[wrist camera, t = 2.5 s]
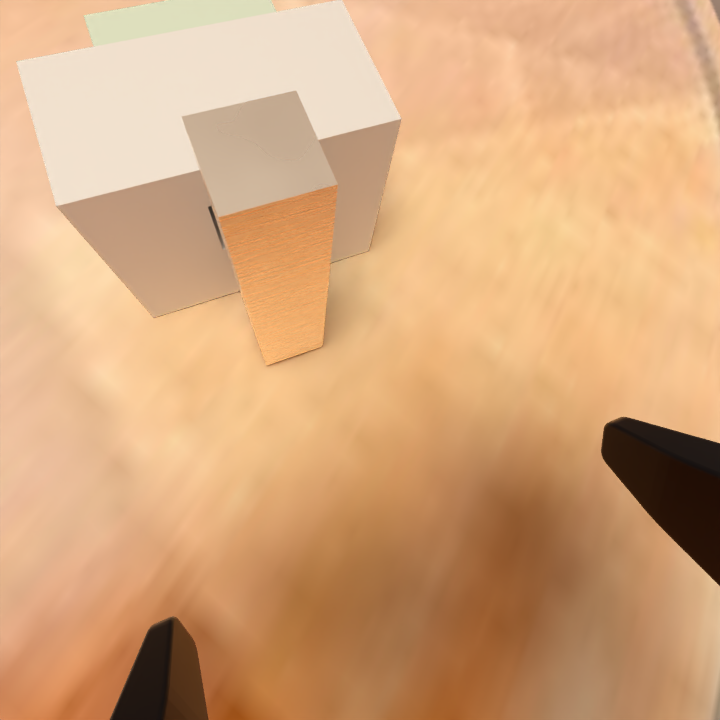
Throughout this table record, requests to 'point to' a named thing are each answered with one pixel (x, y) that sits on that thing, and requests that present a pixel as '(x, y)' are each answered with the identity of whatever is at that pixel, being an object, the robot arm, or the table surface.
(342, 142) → the block
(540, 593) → the table surface
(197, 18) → the spacer
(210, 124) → the grey piece
